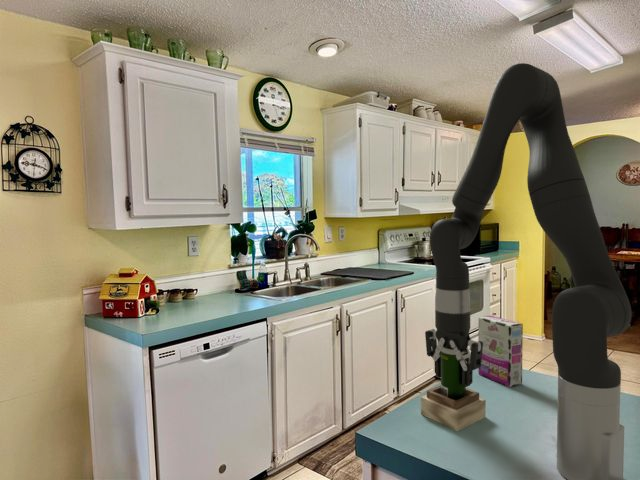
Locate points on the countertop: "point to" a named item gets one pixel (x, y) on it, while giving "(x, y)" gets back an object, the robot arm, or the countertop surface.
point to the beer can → (451, 375)
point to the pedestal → (453, 408)
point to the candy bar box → (501, 350)
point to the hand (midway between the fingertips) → (452, 380)
